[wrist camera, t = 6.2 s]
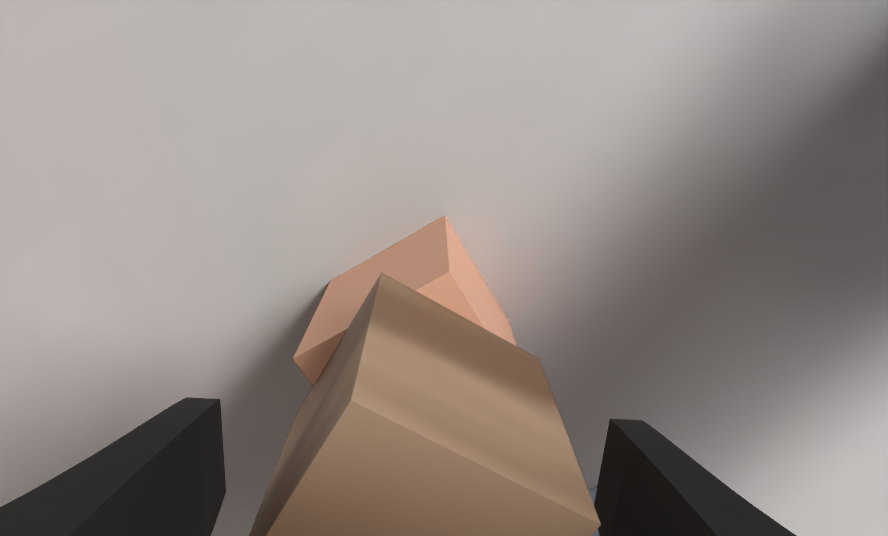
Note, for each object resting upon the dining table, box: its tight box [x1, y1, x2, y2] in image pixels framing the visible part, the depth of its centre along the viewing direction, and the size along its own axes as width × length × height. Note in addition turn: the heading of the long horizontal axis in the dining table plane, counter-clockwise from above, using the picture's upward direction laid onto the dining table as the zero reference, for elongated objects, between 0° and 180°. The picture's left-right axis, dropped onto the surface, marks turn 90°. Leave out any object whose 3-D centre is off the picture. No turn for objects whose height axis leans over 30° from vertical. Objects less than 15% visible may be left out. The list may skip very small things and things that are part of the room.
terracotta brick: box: [293, 216, 516, 386], centre depth 16 cm, size 4×4×5 cm
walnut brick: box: [249, 272, 601, 536], centre depth 11 cm, size 4×4×5 cm
